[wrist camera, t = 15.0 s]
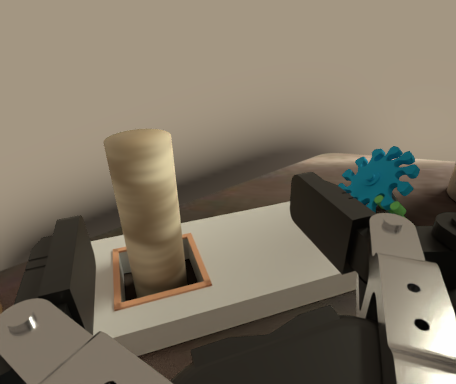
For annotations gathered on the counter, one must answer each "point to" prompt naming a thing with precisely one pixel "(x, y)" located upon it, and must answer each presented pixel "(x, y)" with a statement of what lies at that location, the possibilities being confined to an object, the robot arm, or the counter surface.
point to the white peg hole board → (217, 280)
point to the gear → (381, 180)
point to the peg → (148, 208)
